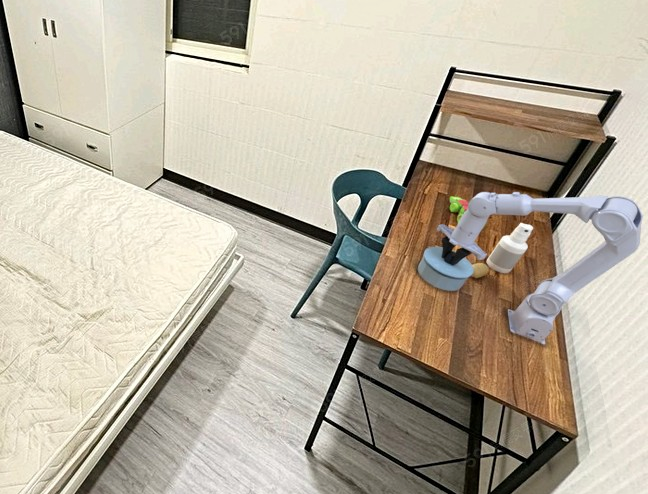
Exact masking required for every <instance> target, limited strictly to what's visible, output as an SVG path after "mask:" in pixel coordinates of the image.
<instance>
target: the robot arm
mask: <svg viewBox="0 0 648 494" xmlns="http://www.w3.org/2000/svg"><path fill="white" fill-rule="evenodd" d="M532 212H537V213H538V212H539V213H551V214H552V213H553V214H565V215H567V214H568V215H575V216H576V217H578V219H580V220H581V221H582V222H584V223H586V224H588V223H589V221H590V220H591V224H592V226H593V228H594V229H596V231H597V232H599V233H600V235H601V236H603V239H604V242H602V243H601V244H599V245H598V246H597V247H596V248H594V249H592V250H591V251H590V252H589V253H587V254H586V255H584V256H583V257H582V258H581V259H579V260H578V261H576V262H575V263H574V264H573V265H571V266H570V267H568V268H567V269H566V270H564V271H563V272H562V273H561V274H557V275H555V276H554V277H552V278H548V279H544V280H541V281H540V282H539V283H538V285H537V288H536V289H535V291H534V292H533V293H530V294H528V295H526V297H525V298H524V299H523V301H521V303H520V304H519V306H518V307H517V308H515V310H512V309H509V308H508V309H507V315H508V323H509V330H510V332H512V333H513V334H517V335H519V336H521V337H524V338H527V339H529V340H532V341H535V342H536V343H539V344H541V345H546V339H547V337H548V336H549V335H550V334H551V333H553V331H554V320H555V319H556V317H557V316H558V315H559V314H560V312H561V310H562V307H563V305H565V304H566V303H567V302H568V301H569V300H570V299H571V298H572V297H573V296H574V294H576V293H577V292H578V291H580V290H581V289H583V288H585V287H586V286H587V285H589V284H590V283H592V282H594V281H595V280H596V279H597V278H599V277H600V276H602V275H603V274H605V273H607V272H608V271H609V270H611V269H612V268H614V267H615V266H616V265H618V264H620V263H621V262H622V261H624V260H625V259H627V258H628V257H631V255H632V254H634V253H636V251H637V250H638V249H639V246H640V245H641V232H642V222H643V217H644V216H643V213H642V211H641V209H640V207H639V205H638V204H637V202H636V201H634V200H633V199H631V198H628V197H625V196H617V195H616V196H610V197H608V196H607V195H594V196H593V195H591V196H577V197H549V198H548V197H547V198H546V197H542V198H533V197H531V196H530V195H528V194H527V193H520V192H519V191H514V192H512V193H508V194H507V193H496V192H489V191H481V192H479V193H477V194H475V195H474V197H472V198H471V199H470V200H469V201H468V208H467V210H466V211H465V212H464V214H463V216H462V217H461V219H460V221H459V222H457V225H456V226H455V228H452V227H449V226H447V225H445V224H444V223H442V224H439V225H438V226H437V228H436V231H438V232H441V234H442V233H443V234H444V235H445V236H444V237H442V238H441V244H442V247H443V251H442V258H445V256H446V255H447V253H448V251H452V250H453V251H454V248H456V246H458V247H460V248H456V249H455V250H456V251H455V252H456V254H455V256H454V258H453V260H452V261H451V263H450V264H451V265H456V264H457V263H458V262H459V261H460V260H462V259H463V258H466V257H468V256H470V255H474V256H475V257H476V259H477V260H479V261H481V260H485V259H486V257H487V256H488V253H486V252H485V251H484V250H483V249H482V248H481V247H480V246H479V245H478V244H477V243H476V240H477V238H478V236H479V235H480V233H481V232H482V230H483V229H484V228H485V227H484V225H485V224H486V225H487V223H488V219H489V217H490V216H491V215H503V216H505V215H506V216H528V215H530V214H531V213H532ZM486 225H485V226H486ZM483 227H484V228H483Z"/></svg>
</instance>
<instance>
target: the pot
mask: <svg viewBox="0 0 648 494" xmlns="http://www.w3.org/2000/svg"><path fill="white" fill-rule="evenodd" d="M417 272H418V274H419V276H420V277H421V278H422V279H423V280H424V281H425V282H426V283H428V284H429V285H431V286H433V287H435V288H438V289H440V290H443V291H448V292H449V291H450V292H454V291H459V290H460V289H461V288H462V287H463V286H464V284H465V283H466V281H467V280H468V278H454V277H450V276H447V275H445V274H442V273H440V272H438V271H437V270H435V269H434V268H432V267H431V266H430V265H429V264H428V263H427V262H426V260H425V258H424V255H423V256H422V258H421V260H420V261H419V263H418V266H417Z"/></svg>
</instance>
